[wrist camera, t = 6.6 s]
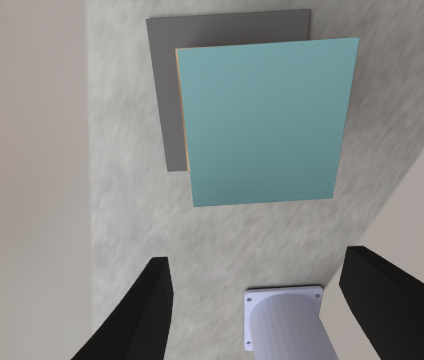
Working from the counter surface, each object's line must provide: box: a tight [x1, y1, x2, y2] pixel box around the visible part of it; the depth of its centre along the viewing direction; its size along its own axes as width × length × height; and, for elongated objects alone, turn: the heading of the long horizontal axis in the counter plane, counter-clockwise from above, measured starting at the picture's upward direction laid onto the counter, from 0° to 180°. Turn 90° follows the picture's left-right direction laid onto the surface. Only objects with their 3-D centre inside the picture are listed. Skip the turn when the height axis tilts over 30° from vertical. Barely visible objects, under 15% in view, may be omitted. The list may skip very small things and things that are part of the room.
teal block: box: [177, 37, 360, 207], centre depth 9 cm, size 4×4×4 cm
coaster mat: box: [146, 9, 310, 172], centre depth 17 cm, size 10×10×1 cm
